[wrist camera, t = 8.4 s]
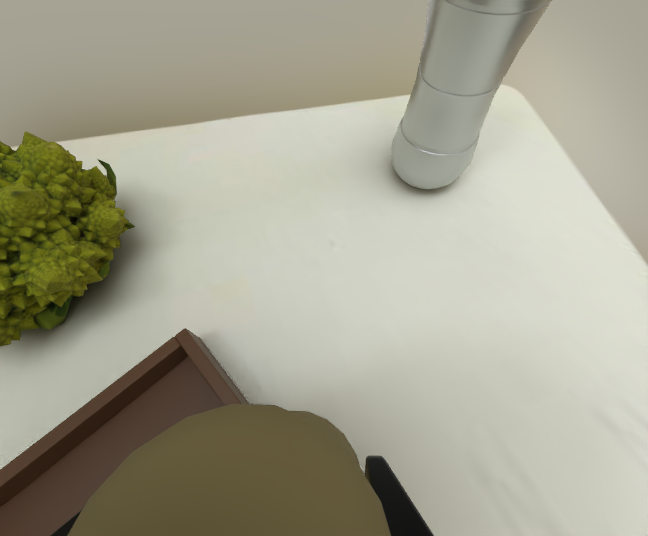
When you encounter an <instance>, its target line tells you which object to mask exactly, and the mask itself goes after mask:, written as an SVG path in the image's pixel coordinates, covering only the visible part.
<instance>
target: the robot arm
mask: <svg viewBox="0 0 648 536" xmlns="http://www.w3.org/2000/svg"><path fill="white" fill-rule="evenodd" d="M365 477H366V478H367V480H368V481H369V483H370V485H371V486H372V488H373V490H374V491H375V493H376V494H377V496H378V498H379V499H380V501H381V503H382V507H383V510H384V514H385V517H386V520H387V524H388V527H389V530H390V534H391V536H434V535H433V534H432V532H431V530H430V529H429V527H428V526H427V524H426V523H425V521H424V520H423V518H422V516H421V515H420V513H419V512H418V510H417V509H416V507H415V506H414V504H413V502H412V501H411V499H410V498H409V496H408V495H407V493H406V492H405V490H404V488H403V487H402V485H401V484H400V482H399V481H398V479H397V477H396V476H395V474H394V473H393V471H392V470H391V468H390V467H389V465H388V463H387V462H386V460H385V459H384V458H383V457H382V456H367V458H366V466H365ZM81 511H82V510H81ZM81 511H79V512H78V513H77V514H76V515H75V516H73V517H72V518H71V519H70V520H68V521H67V522H66V523H65V524H64V525H62V526H61V527H60V528H59V529H57V530H56V531H55V532H54V533H53V534H51V535H50V536H67V535H68V533H69V532H70V530H71V528H72V527H73V525H74V523H75V521H76V520H77V518H78V516H79V515H80V513H81Z"/></svg>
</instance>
